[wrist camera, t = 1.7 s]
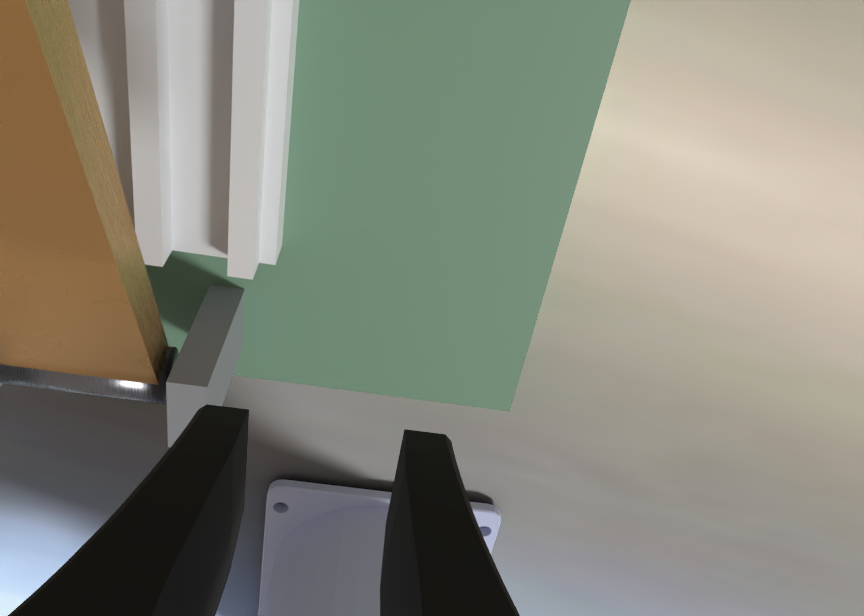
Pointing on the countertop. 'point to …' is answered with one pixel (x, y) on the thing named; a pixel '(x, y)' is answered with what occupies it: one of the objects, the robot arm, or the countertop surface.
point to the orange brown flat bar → (67, 226)
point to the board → (348, 181)
